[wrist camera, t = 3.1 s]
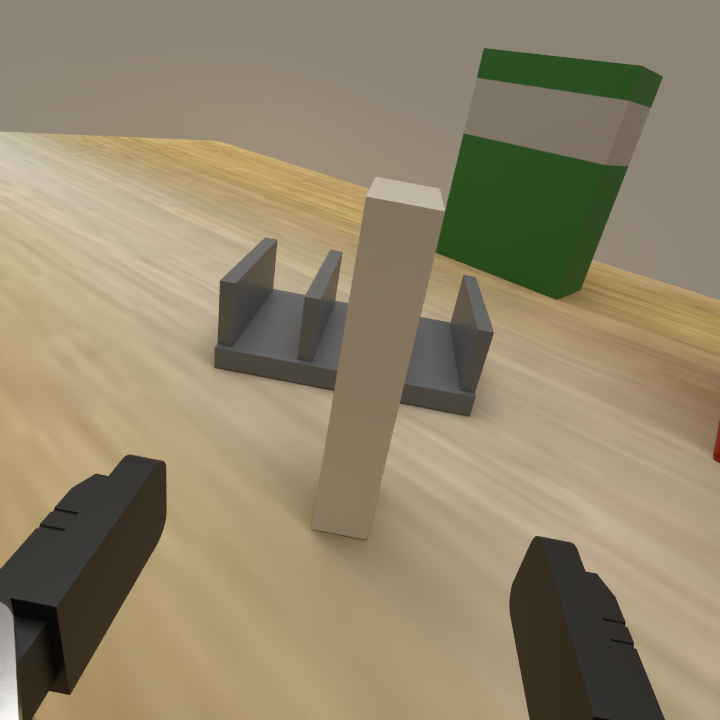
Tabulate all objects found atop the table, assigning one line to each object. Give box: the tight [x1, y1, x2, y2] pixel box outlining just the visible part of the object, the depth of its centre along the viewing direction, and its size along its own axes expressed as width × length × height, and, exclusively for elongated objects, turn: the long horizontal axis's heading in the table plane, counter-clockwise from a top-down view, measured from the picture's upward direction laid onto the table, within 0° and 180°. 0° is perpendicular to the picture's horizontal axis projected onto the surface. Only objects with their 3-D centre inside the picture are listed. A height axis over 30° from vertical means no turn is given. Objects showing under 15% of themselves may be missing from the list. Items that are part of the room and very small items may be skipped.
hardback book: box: [436, 48, 663, 300], centre depth 62 cm, size 18×7×24 cm, turn 47°
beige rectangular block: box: [312, 177, 445, 540], centre depth 22 cm, size 4×3×15 cm, turn 175°
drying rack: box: [214, 237, 494, 416], centre depth 38 cm, size 12×17×6 cm
